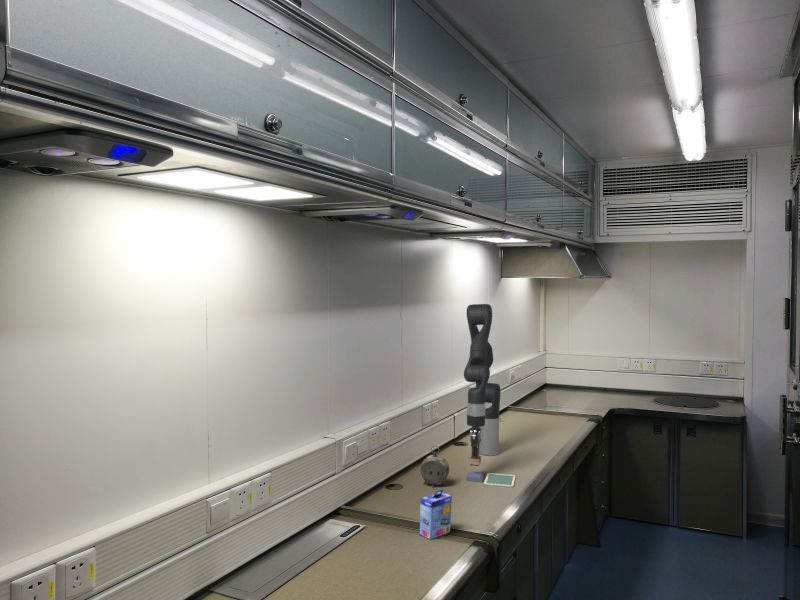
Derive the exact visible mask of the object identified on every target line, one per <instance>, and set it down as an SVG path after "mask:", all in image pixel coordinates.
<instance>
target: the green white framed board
mask: <svg viewBox="0 0 800 600" xmlns="http://www.w3.org/2000/svg"><path fill="white" fill-rule="evenodd" d="M515 479H516V475H515V474H507V473H506V474H504V473H491V472H487V473H486V476H485V480H484V482H483V486H494V487H495V486H496V487H504V488H505V487H506V488H507V487H508V488H514V486H515V481H516V480H515Z"/></svg>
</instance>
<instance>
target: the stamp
mask: <svg viewBox="0 0 800 600" xmlns="http://www.w3.org/2000/svg"><path fill="white" fill-rule="evenodd" d="M477 440H478V439H477ZM469 441H470V442H471V437H470V439H469ZM480 442H481V439H479V442H478V456H477V457H473V456H472V451H471V455H470V457H469V466H472V467H479V466H480V464H481V462H482V456H480V453H479V444H480ZM473 444H476V443H473Z"/></svg>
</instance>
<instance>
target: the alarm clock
mask: <svg viewBox="0 0 800 600" xmlns="http://www.w3.org/2000/svg"><path fill="white" fill-rule="evenodd" d="M434 447H436V448H437V449H438V451H437V452H436V451H434V452H433V450H432V449H433V448H434ZM430 452H431V453H432V454H430V455H428V456H427V457H426V458H424V460H423V461H422V463H421V465H420V474H421V477H422V478H423V480H424V481H423V485H425V484H426V483H428V484H430V485H431V487H432V488H434V487H435V485H440V484H443V487H446V483H445V481H446V479H447V478H448V476H449V473H450V467H449V463H448V461H447V460H446V458H444V457H443V456H441V455H438V453H439V452H440V448H439V446H437V445H432V446H431V447H430Z"/></svg>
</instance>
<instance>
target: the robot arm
mask: <svg viewBox="0 0 800 600" xmlns="http://www.w3.org/2000/svg"><path fill="white" fill-rule="evenodd" d="M466 320H467V325H468V329H469V335H470V341H471V344H470V346H469V358H468V360H467V361H468V362H467V364H466V365H465V368H464V370H463V378H464V380H465V381H466V382H468V383H475V387H471V388H469V389H468V391H467V405H466V424H467V426H469V427H471V429H470V438H471V441H470V447H471V452H472V456H473V457H477V456H478V442H479V439H481V442H480V444H479V455H483V456H489V457H490V456H497V455H499V454H500V453H499V452H500V451H499V450H500V449H499V445H500V440H499V439H500V404H501V392H502V391H501V385H500V384H499V383H493V382H489V379H490V377H491V376H490V375H491V371H490V370H491V367H492V365H493V364H494V351H493V347H492V345H491V343H490V342H489V337H490V333H491V329H492V328H491V327H492V322H493V309H492V306H491V305H490V304H489V303H478V304H469V305H468V306H467V307H466ZM478 326H481V327H482V328H481V329H480V330H479V328H478ZM486 403H488V404H491V406H490V407H487V408H486ZM477 439H478V440H477ZM473 443H476V444H473Z"/></svg>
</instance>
